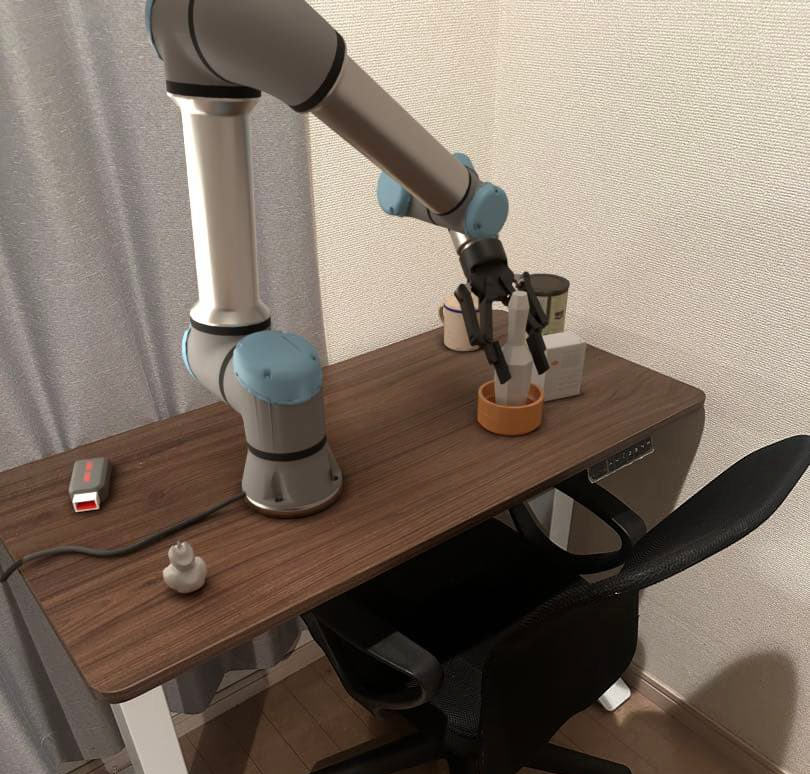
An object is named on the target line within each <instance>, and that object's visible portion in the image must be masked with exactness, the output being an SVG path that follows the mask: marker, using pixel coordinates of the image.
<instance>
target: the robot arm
mask: <svg viewBox="0 0 810 774" xmlns="http://www.w3.org/2000/svg"><path fill="white" fill-rule="evenodd" d="M144 25H145V30H146V31H145V32H146V35H147V38H148V41H149V44H150V45H151V48H152V50H153V51H154V53H155V54H156V56H157V58H158V60H160V61H161V63H163V69H164V70H163V71H164V79H165V86H166V87H165V88H166V95H167V97H168V98H170V99H171V101H173V103H174V104H175V105H176V106H177V107H178V108H179V110H180V114H181V121H182V122H181V123H182V132H183V133H182V134H183V143H184V145H183V146H184V154H185V155H184V156H185V162H186V164H185V165H186V174H187V175H186V176H187V184H188V185H187V186H188V196H189V197H188V198H189V205H190V216H191V226H192V227H191V229H192V238H193V248H194V249H193V250H194V259H195V271H196V282H197V290H198V291H197V292H198V300H197V302H195V303H194V305H192V306H191V308H190V309H189V321H190V323H189V325H188V328H187V329H186V330H185V331H184V334H183V336H182V341H181V355H182V359H183V363H184V366H185V367H186V369H187V371H188V372H189V374H190V375H191V376H192V377H193V379H194V380H195V381H196V382H197V383H198V385H200V386H201V388H203V389H205V390H206V391H208V392H209V393H210V394H212V395H214V396H215V397H216V398H218V399H219V400H221V401H222V402H223V403H225V404H226V405H228V406H229V407H230V408H231V409H232V410H234V411H236V412H237V413H238V414H240V416H241V418H242V420H243V426H244V433H245V439H246V444H247V454H246V460H245V463H244V469H243V475H242V478H241V492H240V493H237V494H235V495H233V496H231V497H229V498H228V499H225V500H223V501H222V502H221V501H220V502H219V503H217V504H215V505H214V506H211V507H210V508H207V509H205V510H203V511H202V512H200V513H198V514H195V515H193V516H190V517H189V518H187V519H184V520H182V521H180V522H178V523H175V524H173V525H170V526H168V527H166V528H164V529H162V530H159V531H156V532H155V533H152V534H151V535H148V536H147V537H145V538H143V539H141V540H139V541H137V542H135V543H133V544H131V545H128V546H125V547H121V548H117V549H107V550H103V549H96V548H91V547H85V546H80V545H65V546H59V547H58V546H57V547H54V548H49V549H45V550H41V551H40V550H39V551H37V552H34V553H31V554H28V555H26V556H24V557H22V558H20V559H18V560H16V561H15V562H14V563H13V564H11V565H10V566H9V567H8V568H7V569H6V570H5V571H4V572H3V574H2V575H1V577H0V584H2V583H5V582H6V581H8V579H9V578H10V577H11V576H12V575H13V574H14V572H15V571H17V570H18V569H19V568H21V567H22V566H23V565H25V564H27V563H29V562H32V561H34V560H36V559H40V558H43V557H48V556H51V555H56V554H62V553H67V552H73V553H74V552H76V553H82V554H87V555H92V556H98V557H112V556H119V555H123V554H124V555H125V554H127V553H130V552H133V551H135V550H137V549H140V548H142V547H144V546H146V545H147V544H149V543H151V542H154V541H155V540H157V539H159V538H161V537H164V536H166V535H169V534H171V533H174V532H175V531H177V530H180V529H182V528H184V527H186V526H188V525H190V524H193V523H195V522H197V521H200V520H201V519H203V518H206V517H208V516H209V515H211V514H214V513H216V512H218V511H220V510H221V509H224V508H225V507H227V506H229V505H231V504H233V503H236V502H238V501H239V500H241V499H243V500H244V502H245V504H246V505H247V506H248V507H249V508H250V509H251V510H253V511H255V512H256V513H258V514H261V515H264V516H268V517H271V518H279V519H281V518H282V519H291V518H292V519H293V518H294V519H295V518H301V517H306V516H310V515H311V516H312V515H313V514H316V513H317V514H318V513H319V512H321V511H324V510H326V509H328V508H329V507H330V506H331V505H333V504H334V503H336V502H337V500H338V499H339V498H340V497H341V495H342V493H343V490H344V489H343V488H344V483H343V474H342V470H341V468H340V466H339V464H338V462H337V460H336V458H335V456H334V454H333V451H332V449H331V447H330V445H329V442H328V438H327V427H326V415H325V413H326V411H325V402H324V401H325V400H324V391H323V390H324V389H323V380H324V374H323V369H322V365H321V362H320V356H319V353H318V351H317V349H316V347H315V346H314V345H313V344H312V343H311V342H310V341H309V340H308V339H306V338H305V337H303V336H301V335H299V334H296V333H295V332H291V331H288V332H283V331H282V330H276V329H275V330H274V329H273V330H272V317H271V315H272V313H271V310H270V308H269V307H268V306H267V305H266V304H265V303H264V302H263V301H262V300H261V299H260V286H259V285H260V284H259V283H260V282H259V265H258V264H259V263H258V244H257V242H258V241H257V227H256V226H257V224H256V204H255V203H256V202H255V201H256V200H255V184H254V165H253V164H254V161H253V142H252V121H251V114H252V111H254V109H255V108H256V107H257V106H258V105H259V103H260V102H261V101H262V92H263V93H266V94H268V95H270V96H272V97H274V98H276V99H277V100H279V101H281V102H282V103H284V104H285V105H286V106H288V107H289V108H290V109H291V110H292V111H294V112H295V113H297V114H300V115H306V114H309V113H310V114H312V115H313V116H314V117H315V118H317V120H319V121H321V122H322V123H323V124H324V125H325V126H327V127H328V128H329V129H330V130H331V131H333V132H334V133H335V134H336V135H337V136H339V138H341V139H342V140H344V141H345V142H346V143H348V144H349V145H350V146H351V147H352V148H353V149H355V150H356V151H357V152H359V154H361V155H362V156H363V157H364V158H366V159H367V160H368V161H369V162H371V163H372V164H373V165H374V166H376V168H378V169H379V170H380V171H381V172H380V174H379V176H378V179H377V187H376V199H377V202H378V205H379V208H380V209H381V211H383V213H385V214H386V215H387V216H394V217H398V218H401V219H402V218H412V219H416V220H417V221H422V222H424V223H428V224H431V225H434V226H437V227H441V228H444V229H447V232H448V233H449V235H450V239H451V241H452V245H453V246H454V249H455V252H456V255H457V256H458V261H459V264H460V267H461V270H462V273H463V275H464V278H466V283H460V284H458V286H457V287H456V289H454V292H453V295H454V296H455V297H456V299H457V301H458V302H459V304H460V307H461V311H462V315H463V319H464V323H465V327H466V331H467V335H468V339H469V343H470V345H471V346H476V345H477V346H479V350H481V351H484V355H485V357H486V359H487V363H488V364H489V365H490V366H493V367H494V371H495V370H496V373H497V376H498V379H499V381H500V384H501V385H502V384H505V383H506V382H507V381H508V380H509V379H511V378H512V377H511V374H510V371H509V369H508V366H507V363H506V360H505V358H504V355H503V352H502V349H501V348H502V346H501V344H500V342H499V341H500V340H494V326H493V325H494V323H493V321H494V319H493V303H494V302H501V304H502V305H503V306H504V307H506V308H508V304H509V301H510V299H511V296H512V293H513V292H515V291H517V288H518V291H524V292H527V296H528V302H529V313H528V318H527V323H526V333H527V334H528V335H529V337H528V338H527V339H526V342H527V345H528V348H529V350H530V352H531V354H532V358H533V361H534V364H535V367H536V370H537V372H538V375H542V374H543V373H545V372H546V371H547V370H548V369H550V367H549V364H548V361H547V358H546V356H545V353H544V351H545V350H546V345H545V342H544V340H543V337H542V334H541V331H542V330H543V329H544V328H545V327H546V326H547V325H548V324H549V322H548V319H547V317H546V315H545V313H544V311H543V309H542V307H541V305H540V302H539V300H538V298H537V296H536V294H535V292H534V290H533V288H532V285H531V281H530V273H529V272H528V271H523V272H522V273H514V271H513V270H512V269H511V267H510V265H509V261H508V255H507V253H506V250H505V248H504V245H503V242H502V241H501V240H500V232H501V231H502V230H503V228H504V226H505V224H506V223H507V219H508V217H509V213H510V212H509V211H510V205H509V204H510V203H509V198H508V195H507V193H506V191H505V190H504V189H503V188H502V187H500V186H498V185H495V184H493V183H492V182H490V181H483V180H481V179H480V176H479V173H477V171H476V169H475V166H474V164H473V162H472V160H471V158H470V157H469V155H467V154H465V153H463V152H454V153H453V154H452V153H451V152H450V150H448V149H447V148H446V147H445V146H444V145H443V144H442V143H440V141H439V140H437V139H436V138H435V136H433V135H432V134H431V133H430V132H429V131H428V130H427V129H426V128H425V127H424V126H423V125H422V124H420V122H419V121H418V120H417V119H415V117H414V116H413V115H411V114H410V113H409V112H408V111H407V110H406V109H405V108H404V107H403V106H402V105H401V104H400V103H399V102H398V101H397V100H396V99H395V98H394V97H392V96H391V94H389V92H387V91H386V90H385V89H384V87H382V86H381V85H380V84H379V83H378V82H377V81H376V80H375V79H374V78H373V77H372V76H371V75H370V74H368V72H366V70H364V69H363V68H362V67H361V66H360V65H359V64H358V63H357V62H356V61H355V60H354V59H353V58H352V57H351V56H350V55H349V54H348V47H347V43H346V40H345V38H344V36H343V35H342V34H341V33H339V32H338V30H336V29H335V27H334V26H333V25H331V24H330V23H329V22H328V21H327V20H326V19H325V18H324V17H323V16H322V15H321V14H320V13H319V12H318V11H317V10H316V9H314V8H313V6H311V4H309V2H308V1H306V0H146V1H145V7H144ZM513 284H514V285H513ZM471 292H472V293H474V294H475V295H476V296H477V297H478V309H479V310H480V326H479V322H478V319H477V315H476V311H475V307H474V303H473V299H472V296H471Z"/></svg>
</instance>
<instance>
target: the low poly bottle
mask: <svg viewBox="0 0 810 774" xmlns="http://www.w3.org/2000/svg"><path fill="white" fill-rule="evenodd" d="M507 310H508V312H507V313H508V314H507V315H508V317H507V318H508V323H507V324H508V326H507V336H506V337H507V338H506V342H505V343H504V344H503V346H501V349H502V352H503V355H504V358H505V360H506V363H507V366H508V369H509V371H510V374H511V377H512V378H511V379H509V380H508V381H507V382H506V383H505V384H502V385H501V384H500V381H499V379H498V376H497V373H496V370H495V369H494V376H493V380H494V383H495V403H496V404H498V405H502V406H509V407H519V406H525V405H526V401H527V397H528V392H529V388H530V384H531V375H532V366H533V358H532V354H531V352H530V351H529V349H528V347H527V346H526V344H525V343H524V341H525V331H526V323H527V318H528V313H529V302H528V296H527V292H524V291H517V290H516V291H515V292H513V293H512V296H511V299H510V301H509V304H508V307H507Z"/></svg>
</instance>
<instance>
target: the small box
mask: <svg viewBox="0 0 810 774" xmlns="http://www.w3.org/2000/svg"><path fill="white" fill-rule="evenodd" d="M542 337H543V340H544V342H545V345H546V350H545V351H544V353H545V356H546V358H547V361H548V364H549V367H550V369H548V370H547V371H546V372H545V373H543V374H542V375H538V372H537V370H536V367H535V364H534V361H533V366H532V375H531V382H532V383H534V384H536V385H538V386H539V387H540V388H542V389H543V391H544V394H545V396H544V403H545V402H549V401H554V400H558V399H559V400H560V399H565V398H569V397H574V396H579V395H580V394H581V388H582V387H581V386H582V380H583V373H584V364H585V359H586V358H585V357H586V349H587V341H586V340H585V339H583V338H582V337H580V336H579V335H578V334H576V333H575V332H574V331H572V330H567V331H564V332H561V333H555V334H550V335H544V336H542Z"/></svg>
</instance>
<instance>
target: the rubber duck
mask: <svg viewBox="0 0 810 774" xmlns="http://www.w3.org/2000/svg"><path fill="white" fill-rule="evenodd" d="M167 555H168V559H169V563H170V564H169V565H168V566H167V567H165V568H164V569H163V570H162V577H163V579H164V582H165V583H166V585H167V586H168V587H169V588H170V589H172V590H175V591H176V592H178V593H181V594H189V593H193V592H195V591H197V590H199V589H200V588H202V587H203V586H204V584H205V580H206V578H207V576H208V567H207V564H206V562H205V560H204V559H203V558H202V557H200V556H196V554H195V553H194V548H193V547H192V546H191V545H190V544H189V543H188V542H186V541H183V542H181V541H180V539H178V540H177V543H176V544H175V545H172V546H171V547H170V548H169V550H168V554H167Z"/></svg>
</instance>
